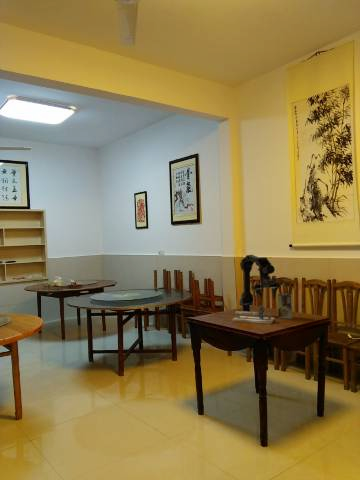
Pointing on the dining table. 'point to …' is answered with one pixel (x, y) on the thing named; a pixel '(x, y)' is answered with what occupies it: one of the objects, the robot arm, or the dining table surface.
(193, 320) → the dining table surface
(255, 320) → the pipe stand
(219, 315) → the dining table surface
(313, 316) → the dining table surface
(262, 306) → the dark angular block
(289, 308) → the coffee box
